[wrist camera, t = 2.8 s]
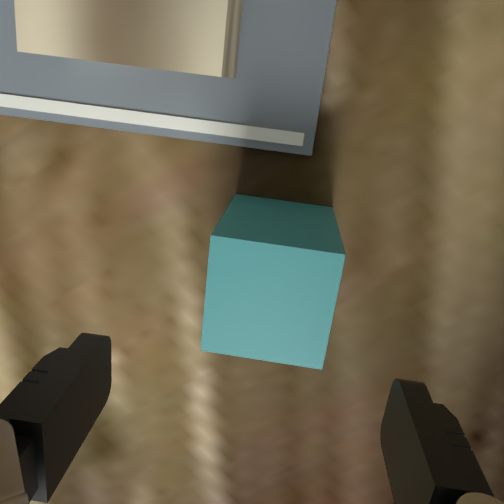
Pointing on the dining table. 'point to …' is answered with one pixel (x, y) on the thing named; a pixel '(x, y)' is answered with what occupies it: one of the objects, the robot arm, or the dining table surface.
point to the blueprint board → (188, 84)
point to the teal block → (272, 281)
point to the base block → (135, 32)
